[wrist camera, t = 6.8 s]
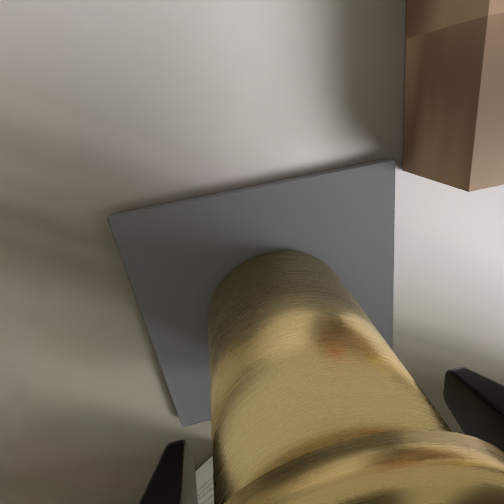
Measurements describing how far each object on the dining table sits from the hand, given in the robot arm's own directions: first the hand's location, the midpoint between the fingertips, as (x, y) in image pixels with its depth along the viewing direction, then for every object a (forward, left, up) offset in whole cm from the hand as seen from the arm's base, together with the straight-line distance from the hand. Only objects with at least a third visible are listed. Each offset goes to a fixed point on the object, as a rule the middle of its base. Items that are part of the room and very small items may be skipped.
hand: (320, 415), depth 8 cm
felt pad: (0, 0, -5) cm, 5 cm away
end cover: (0, 0, -4) cm, 5 cm away
